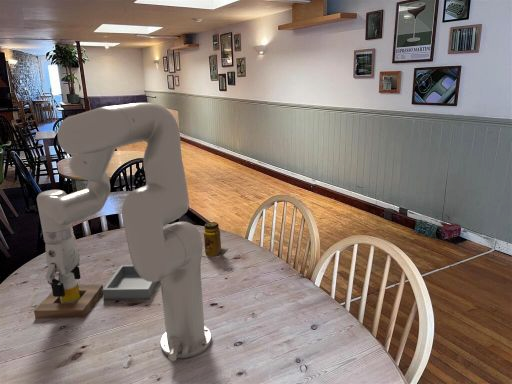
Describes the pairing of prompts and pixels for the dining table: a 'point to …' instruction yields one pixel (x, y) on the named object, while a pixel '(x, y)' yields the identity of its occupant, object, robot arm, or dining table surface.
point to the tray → (128, 285)
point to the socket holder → (70, 304)
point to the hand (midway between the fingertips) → (67, 287)
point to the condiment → (212, 241)
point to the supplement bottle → (70, 289)
